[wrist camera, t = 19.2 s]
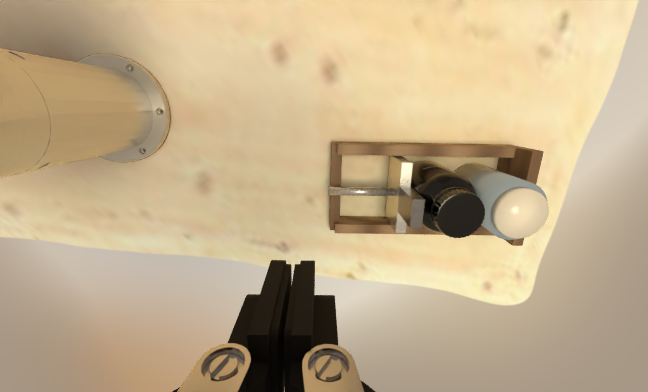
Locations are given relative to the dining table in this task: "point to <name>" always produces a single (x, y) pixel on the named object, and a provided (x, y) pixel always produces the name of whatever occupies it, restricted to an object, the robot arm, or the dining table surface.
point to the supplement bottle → (447, 200)
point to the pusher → (394, 196)
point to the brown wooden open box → (510, 157)
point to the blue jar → (507, 202)
